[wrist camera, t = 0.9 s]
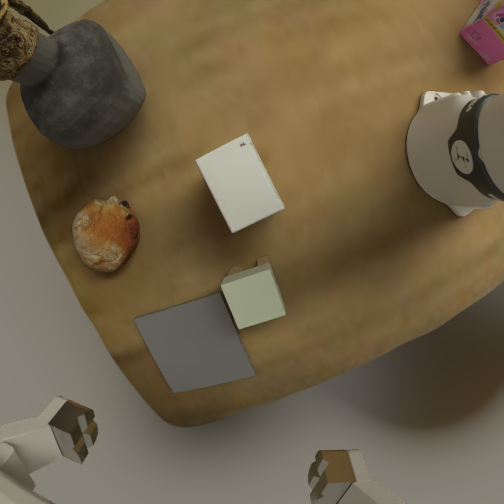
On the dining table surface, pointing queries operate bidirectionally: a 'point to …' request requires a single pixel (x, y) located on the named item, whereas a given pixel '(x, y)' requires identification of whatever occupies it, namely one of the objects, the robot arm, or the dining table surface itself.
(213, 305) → the mat
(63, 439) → the robot arm
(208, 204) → the dining table surface
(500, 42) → the pink bottle multipack
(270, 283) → the stool
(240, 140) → the small box
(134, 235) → the bread roll
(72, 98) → the grey tall rounded piece
